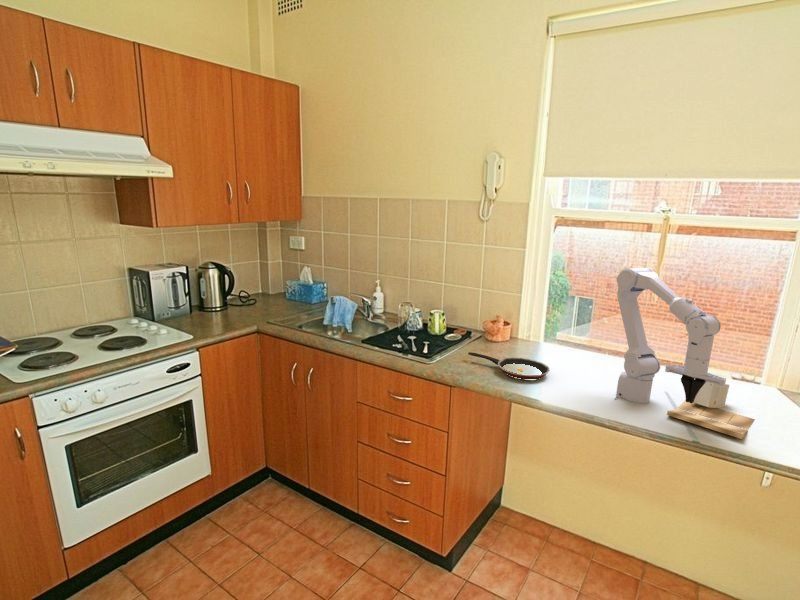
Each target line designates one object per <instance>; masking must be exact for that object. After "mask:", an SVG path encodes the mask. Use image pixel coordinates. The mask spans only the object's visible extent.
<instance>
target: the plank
mask: <svg viewBox="0 0 800 600" xmlns="http://www.w3.org/2000/svg"><path fill="white" fill-rule="evenodd" d="M666 415H667V416H670V417H672V418H675V419H679V420H682V421H685V422H688V423H691V424H693V425H697V426H700V427H702V428H706V429H709V430H712V431H716V432H719V433H722V434H725V435H729V436H730V437H734V438H736V439H740V440H742V439H743V438H745V437H746V434H747V433H748V432H749V430H746V429H743V428H740V427H737V426H733V425H730V424H727V423H724V422H720V421H717V420H714V419H711V418H708V417H704V416H701V415H698V414H695V413H691V412H688V411H685V410H682V409H679V408H678V407H676V408H673V409H670V410H667V412H666Z"/></svg>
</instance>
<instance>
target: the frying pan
mask: <svg viewBox="0 0 800 600" xmlns="http://www.w3.org/2000/svg"><path fill="white" fill-rule="evenodd" d="M467 355H469V356H472V357H476V358H482V359H484V360H485V359H486V360H487V361H490V362H492V363H493V364H494V365H497V366H498V367H499V369H500V370H501V371H502V372H503V373H504V374H505V373H506V374H508V375H510V376H513V377H517V378H521V379H538V380H540V379H542V378H543V377H545V376H546V375H547V374H549V373H550V372H551V371H550V370H551V369H550V367H549V366H548V365H547V364H545V363H543V362H540V361H537V360H534V359H532V358H531V359H530V358H525V357H508V358H502V359H501V360H500V359H499V358H495V357H491V356H488V355H485V354H481V353H476V352H471V351H469V352H468V353H467ZM513 363H515V364H525V365H530V366H533V367H536V368H537V369H539V370H540V371H541V372H542V374H541V375H522V374H517V373H513V372H510V371H507V370H505V369H503V368H502V367H503V366H504V365H506V364H513ZM517 370H518V371H520V372H523V370H522V369H517ZM506 374H505V375H506ZM539 378H540V379H539Z"/></svg>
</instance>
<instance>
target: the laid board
mask: <svg viewBox="0 0 800 600" xmlns="http://www.w3.org/2000/svg"><path fill="white" fill-rule="evenodd" d="M677 409H680V410H684V411H687V412H690V413H693V414H696V415H700V416H703V417H706V418H709V419H713V420H716V421H719V422H722V423H725V424H729V425H732V426H735V427H738V428H741V429H745V430H748V431H749V430H750V429H751V426H752V425H754V424H753V423H754V422H755V420H756V419H754V418H752V417H748V416H744V415H741V414H737V413H734V412H730V411H728V410H724V409H721V408H709V407H706V406H702V405H699V404H696V403H689V402H686V399H685V400H684V401H682V403H681V404H680V405H679V406H678V407H677Z"/></svg>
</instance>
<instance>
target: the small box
mask: <svg viewBox="0 0 800 600" xmlns="http://www.w3.org/2000/svg"><path fill="white" fill-rule="evenodd" d="M729 389H730V384H728V383H725V386H724V387H723V386H719V385H718V384H714V383H710V382H706V383H705V384H704V385H703V386H702V387H701V389H700V390H699V392H698V393H697V395H696V397H695V400H694V402H693V403H696V404H699V405H702V406H706V407H709V408H718V409H721V408H723V407H725V405H726V401H727V397H728V393H729Z"/></svg>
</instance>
